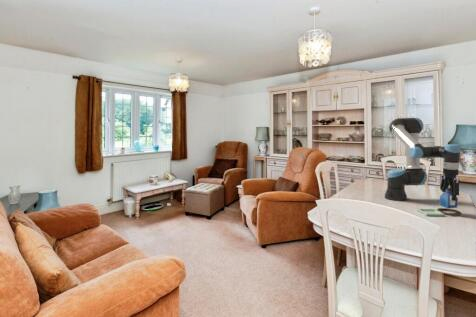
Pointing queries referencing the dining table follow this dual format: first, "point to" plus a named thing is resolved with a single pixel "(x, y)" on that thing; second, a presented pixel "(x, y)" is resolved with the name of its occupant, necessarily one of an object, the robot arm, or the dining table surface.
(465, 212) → the dining table surface
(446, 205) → the perfume bottle
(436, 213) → the tray
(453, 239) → the dining table surface
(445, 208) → the ring
